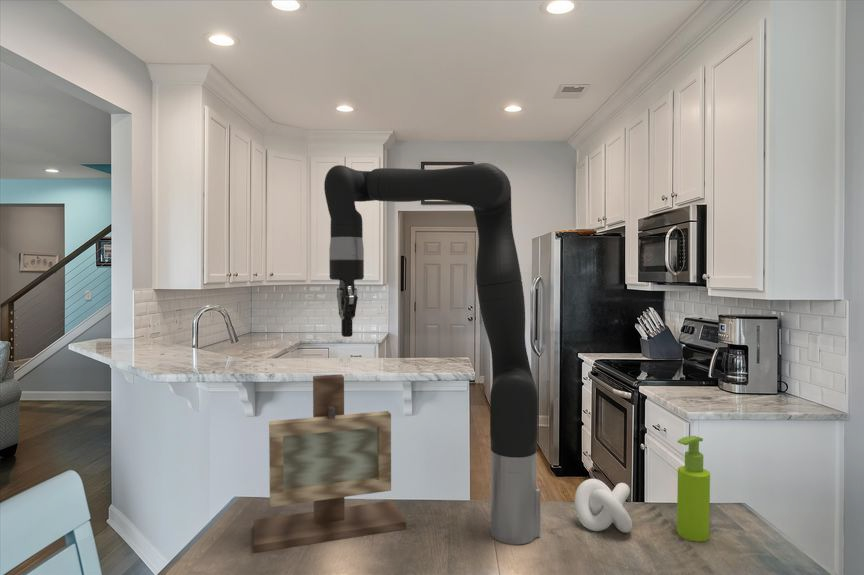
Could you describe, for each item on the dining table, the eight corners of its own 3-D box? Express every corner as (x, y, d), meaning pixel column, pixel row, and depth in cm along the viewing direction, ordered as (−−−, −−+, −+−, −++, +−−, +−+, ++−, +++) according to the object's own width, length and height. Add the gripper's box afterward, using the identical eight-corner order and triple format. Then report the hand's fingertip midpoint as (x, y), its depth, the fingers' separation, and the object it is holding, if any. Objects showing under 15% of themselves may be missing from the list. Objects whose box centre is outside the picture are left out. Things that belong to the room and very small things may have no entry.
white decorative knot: (650, 537, 108) (651, 493, 108) (598, 545, 105) (599, 500, 105) (616, 513, 119) (616, 473, 119) (568, 519, 116) (568, 478, 115)
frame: (388, 486, 114) (388, 401, 113) (391, 490, 111) (390, 404, 111) (269, 501, 106) (269, 411, 105) (270, 506, 104) (269, 414, 103)
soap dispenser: (667, 532, 110) (668, 435, 109) (689, 525, 113) (691, 431, 113) (692, 545, 105) (694, 444, 104) (715, 537, 108) (717, 439, 107)
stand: (393, 506, 122) (392, 368, 121) (406, 528, 111) (406, 377, 111) (253, 526, 112) (252, 376, 111) (254, 552, 102) (252, 387, 101)
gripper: (369, 257, 114) (369, 339, 114) (357, 259, 126) (358, 332, 127) (334, 257, 111) (334, 340, 112) (325, 258, 124) (325, 333, 124)
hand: (346, 336), depth 119 cm, fingers closed
